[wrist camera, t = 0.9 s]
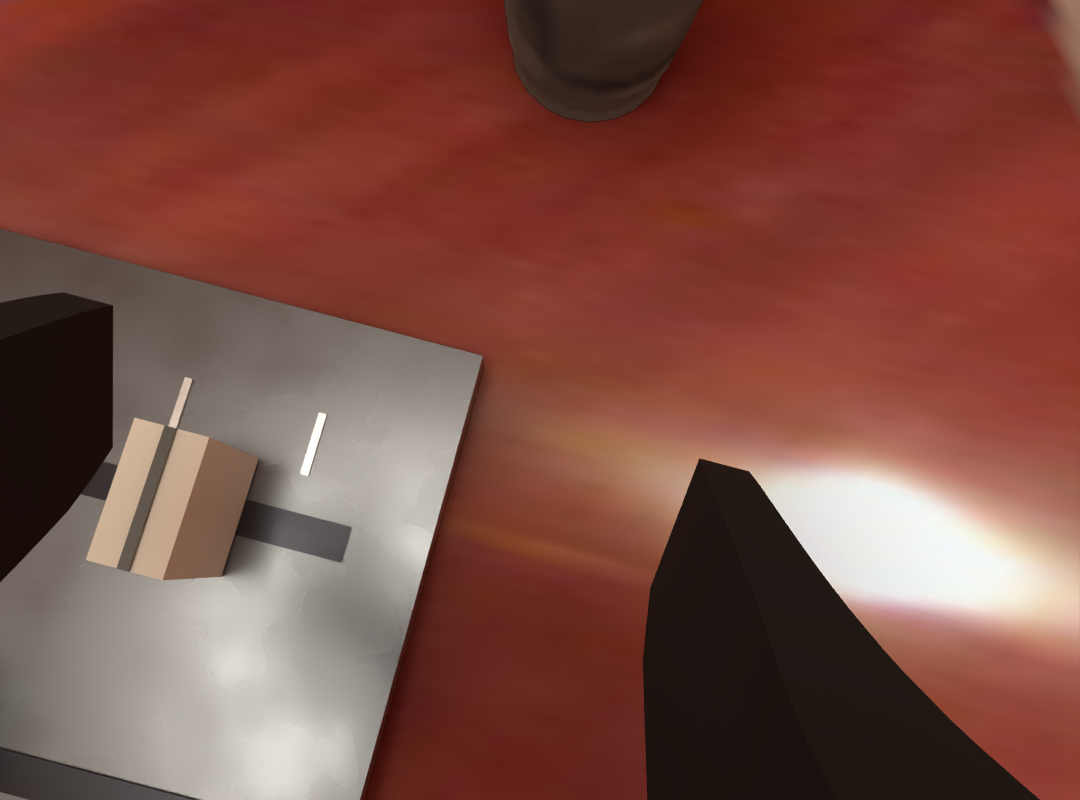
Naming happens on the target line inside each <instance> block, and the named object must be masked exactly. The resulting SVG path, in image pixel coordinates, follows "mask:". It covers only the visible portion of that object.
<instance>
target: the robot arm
mask: <svg viewBox="0 0 1080 800" xmlns="http://www.w3.org/2000/svg"><path fill="white" fill-rule="evenodd" d="M112 448H113V305H110V304H106V303H102V302H99V301H95V300H91V299H87V298H83V297H80V296H76V295H72V294H68V293H64V292H62V293H53V294H44V295H38V296H32V297H26V298H21V299H16V300H11V301H6V302H1V303H0V582H1V581H2V580H3V579H4V578H5V577H6V576H7V575H8V574H9V573H10V572H11V571H12V570H13V569H14V568H15V567H16V566H17V565H18V564H19V563H20V562H21V561H22V560H23V559H24V557H25V556H26V555H27V554H28V553H29V552H30V551H31V550H32V549H33V548H34V547H35V546H36V545H37V544H38V543H39V542H40V541H41V540H42V538H43V537H44V536H45V535H46V534H47V533H48V532H49V531H50V530H51V529H52V528H53V527H54V526H55V525H56V524H57V523H58V521H59V520H60V519H61V518H62V517H63V516H64V515H65V514H66V513H67V512H68V511H69V509H70V508H71V507H72V505H73V504H74V502H75V501H76V500H77V498H78V497H79V496H80V494H81V493H82V492H83V490H84V489H85V488H86V486H87V485H88V483H89V482H90V481H91V479H92V478H93V476H94V475H95V473H96V472H97V470H98V469H99V467H100V466H101V464H102V463H103V461H104V460H105V459H106V457H107V456H108V454H109V453H110V451H111V450H112ZM643 674H644V712H645V742H646V771H647V800H1040V799H1038V798H1037V797H1036V796H1035V795H1034V794H1032V793H1031V792H1030V791H1029V790H1028V789H1027V788H1026V787H1024V786H1023V785H1022V784H1021V783H1020V782H1019V781H1018V780H1016V779H1015V778H1014V777H1013V776H1012V775H1011V774H1010V773H1009V772H1007V771H1006V770H1005V769H1004V768H1003V767H1002V766H1001V765H999V764H998V763H997V762H996V761H995V760H994V759H993V758H991V757H990V756H989V755H988V754H987V753H986V752H985V751H983V750H982V749H981V748H980V747H979V746H978V745H977V744H976V743H975V742H974V741H972V740H971V739H970V738H969V737H968V736H967V735H966V734H965V733H964V732H963V731H962V730H961V729H960V728H959V727H958V726H956V725H955V724H954V723H953V722H952V721H951V720H950V719H949V718H948V717H947V716H946V715H945V714H944V713H943V712H942V711H941V710H940V709H939V708H938V707H937V706H936V705H935V704H934V703H933V702H932V701H931V700H930V699H929V697H928V696H927V695H926V694H925V693H924V692H923V691H922V690H921V689H920V688H919V687H918V686H917V685H916V684H915V683H914V682H913V681H912V680H911V679H910V678H909V677H908V676H907V675H906V674H905V673H904V672H903V671H902V670H901V669H900V667H899V666H898V665H897V664H896V663H895V662H894V661H893V660H892V659H891V658H890V656H889V655H888V654H887V653H886V652H885V651H884V650H883V649H882V647H881V646H880V645H879V644H878V643H877V641H876V640H875V639H874V638H873V637H872V636H871V634H870V633H869V632H868V631H867V630H866V628H865V627H864V626H863V625H862V624H861V622H860V621H859V620H858V619H857V618H856V616H855V615H854V614H853V613H852V612H851V610H850V609H849V608H848V607H847V605H846V604H845V603H844V602H843V600H842V599H841V598H840V596H839V595H838V594H837V593H836V591H835V590H834V589H833V587H832V586H831V585H830V584H829V582H828V581H827V580H826V578H825V577H824V576H823V574H822V573H821V572H820V570H819V569H818V567H817V566H816V565H815V563H814V562H813V561H812V559H811V558H810V557H809V555H808V554H807V552H806V551H805V550H804V548H803V547H802V545H801V544H800V543H799V541H798V540H797V538H796V537H795V536H794V534H793V533H792V531H791V530H790V528H789V527H788V525H787V524H786V523H785V521H784V520H783V518H782V517H781V515H780V514H779V512H778V511H777V510H776V508H775V507H774V505H773V504H772V502H771V501H770V499H769V498H768V497H767V495H766V494H765V492H764V491H763V489H762V488H761V487H760V485H759V484H758V483H757V481H756V480H755V479H754V477H753V476H752V475H751V473H750V472H749V471H745V470H741V469H737V468H734V467H730V466H726V465H722V464H718V463H715V462H711V461H707V460H703V459H699V461H698V464H697V466H696V469H695V472H694V474H693V477H692V480H691V482H690V485H689V487H688V490H687V493H686V495H685V498H684V501H683V503H682V506H681V509H680V511H679V514H678V516H677V519H676V522H675V524H674V527H673V530H672V532H671V535H670V538H669V540H668V543H667V545H666V548H665V551H664V553H663V556H662V559H661V561H660V564H659V567H658V569H657V572H656V574H655V577H654V580H653V582H652V585H651V588H650V597H649V606H648V615H647V624H646V635H645V646H644V656H643Z"/></svg>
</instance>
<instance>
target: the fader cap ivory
mask: <svg viewBox="0 0 1080 800" xmlns="http://www.w3.org/2000/svg"><path fill="white" fill-rule="evenodd" d="M258 459H259V458H257V457H254V456H252V455H250V454H247V453H245V452H243V451H240V450H238V449H236V448H233V447H231V446H229V445H226V444H224V443H222V442H219V441H217V440H215V439H212V438H210V437H206V436H203V435H199V434H195V433H191V432H187V431H184V430H180V429H177V428H173V427H169V426H166V425H161V424H157V423H153V422H149V421H146V420H142V419H138V418H134V421H133V424H132V426H131V429H130V432H129V435H128V438H127V441H126V444H125V447H124V450H123V453H122V456H121V458H120V461H119V464H118V467H117V470H116V473H115V476H114V479H113V482H112V485H111V488H110V490H109V493H108V496H107V499H106V502H105V505H104V508H103V511H102V514H101V517H100V520H99V522H98V525H97V528H96V531H95V534H94V537H93V540H92V543H91V546H90V549H89V552H88V554H87V557H86V560H87V561H91V562H95V563H99V564H103V565H106V566H110V567H114V568H116V569H119V570H123V571H127V572H133V573H137V574H140V575H144V576H148V577H152V578H156V579H159V580H176V579H194V578H211V577H221V576H222V573H223V570H224V567H225V563H226V560H227V557H228V554H229V551H230V548H231V545H232V541H233V538H234V535H235V532H236V529H237V526H238V522H239V519H240V516H241V513H242V510H243V507H244V503H245V500H246V497H247V494H248V491H249V488H250V484H251V481H252V478H253V475H254V472H255V469H256V465H257V462H258Z"/></svg>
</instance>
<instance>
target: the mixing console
mask: <svg viewBox="0 0 1080 800" xmlns="http://www.w3.org/2000/svg"><path fill="white" fill-rule="evenodd" d="M62 292H64V293H68V294H72V295H76V296H80V297H83V298H87V299H91V300H95V301H99V302H102V303H106V304H110V305H113V448H112V450H111V451H110V453H109V454H108V456H107V457H106V459H105V460H104V461H103V463H102V464H101V466H100V467H99V469H98V470H97V472H96V473H95V475H94V476H93V478H92V479H91V481H90V482H89V483H88V485H87V486H86V488H85V489H84V490H83V492H82V493H81V494H80V496H79V497H78V498H77V500H76V501H75V502H74V504H73V505H72V507H71V508H70V509H69V511H68V512H67V513H66V514H65V515H64V516H63V517H62V518H61V519H60V520H59V521H58V523H57V524H56V525H55V526H54V527H53V528H52V529H51V530H50V531H49V532H48V533H47V534H46V535H45V536H44V537H43V538H42V540H41V541H40V542H39V543H38V544H37V545H36V546H35V547H34V548H33V549H32V550H31V551H30V552H29V553H28V554H27V555H26V556H25V557H24V559H23V560H22V561H21V562H20V563H19V564H18V565H17V566H16V567H15V568H14V569H13V570H12V571H11V572H10V573H9V574H8V575H7V576H6V577H5V578H4V579H3V580H2V581H1V582H0V800H365V796H366V792H367V789H368V785H369V782H370V778H371V774H372V771H373V767H374V763H375V760H376V756H377V753H378V749H379V745H380V742H381V738H382V735H383V731H384V727H385V724H386V720H387V716H388V713H389V709H390V706H391V702H392V698H393V695H394V691H395V687H396V684H397V680H398V677H399V673H400V669H401V666H402V662H403V659H404V655H405V651H406V648H407V644H408V640H409V637H410V633H411V630H412V626H413V622H414V619H415V615H416V611H417V608H418V604H419V601H420V597H421V593H422V590H423V586H424V583H425V579H426V575H427V572H428V568H429V564H430V561H431V557H432V554H433V550H434V546H435V543H436V539H437V535H438V532H439V528H440V525H441V521H442V517H443V514H444V510H445V507H446V503H447V499H448V496H449V492H450V488H451V485H452V481H453V478H454V474H455V470H456V467H457V463H458V459H459V456H460V452H461V449H462V445H463V441H464V438H465V434H466V431H467V427H468V423H469V420H470V416H471V412H472V409H473V405H474V402H475V398H476V394H477V391H478V387H479V383H480V380H481V376H482V373H483V369H484V364H483V356H481V355H477V354H474V353H470V352H466V351H462V350H458V349H455V348H451V347H447V346H443V345H439V344H436V343H432V342H428V341H424V340H420V339H417V338H413V337H409V336H405V335H401V334H398V333H394V332H390V331H386V330H382V329H379V328H375V327H371V326H367V325H363V324H360V323H356V322H352V321H348V320H344V319H341V318H337V317H333V316H329V315H325V314H322V313H318V312H314V311H310V310H306V309H303V308H299V307H295V306H291V305H287V304H284V303H280V302H276V301H272V300H268V299H265V298H261V297H257V296H253V295H249V294H245V293H242V292H238V291H234V290H230V289H226V288H223V287H219V286H215V285H211V284H207V283H204V282H200V281H196V280H192V279H188V278H185V277H181V276H177V275H173V274H169V273H166V272H162V271H158V270H154V269H150V268H147V267H143V266H139V265H135V264H131V263H128V262H124V261H120V260H116V259H112V258H109V257H105V256H101V255H97V254H93V253H90V252H86V251H82V250H78V249H74V248H71V247H67V246H63V245H59V244H55V243H52V242H48V241H44V240H40V239H36V238H33V237H29V236H25V235H21V234H17V233H14V232H10V231H6V230H2V229H0V303H1V302H6V301H11V300H16V299H21V298H26V297H32V296H38V295H44V294H53V293H62ZM134 418H138V419H142V420H146V421H149V422H153V423H157V424H161V425H166V426H169V427H173V428H177V429H180V430H184V431H187V432H191V433H195V434H199V435H203V436H206V437H210V438H212V439H215V440H217V441H219V442H222V443H224V444H226V445H229V446H231V447H233V448H236V449H238V450H240V451H243V452H245V453H247V454H250V455H252V456H254V457H257V458H259V459H258V462H257V465H256V469H255V472H254V475H253V478H252V481H251V484H250V488H249V491H248V494H247V497H246V500H245V503H244V507H243V510H242V513H241V516H240V519H239V522H238V526H237V529H236V532H235V535H234V538H233V541H232V545H231V548H230V551H229V554H228V557H227V560H226V563H225V567H224V570H223V573H222V576H221V577H211V578H194V579H176V580H159V579H156V578H152V577H148V576H144V575H140V574H137V573H133V572H127V571H123V570H119V569H116V568H114V567H110V566H106V565H103V564H99V563H95V562H91V561H87V560H86V557H87V554H88V552H89V549H90V546H91V543H92V540H93V537H94V534H95V531H96V528H97V525H98V522H99V520H100V517H101V514H102V511H103V508H104V505H105V502H106V499H107V496H108V493H109V490H110V488H111V485H112V482H113V479H114V476H115V473H116V470H117V467H118V464H119V461H120V458H121V456H122V453H123V450H124V447H125V444H126V441H127V438H128V435H129V432H130V429H131V426H132V424H133V421H134Z"/></svg>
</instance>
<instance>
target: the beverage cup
mask: <svg viewBox="0 0 1080 800" xmlns="http://www.w3.org/2000/svg"><path fill="white" fill-rule="evenodd" d="M702 2H703V0H504V6H505V13H506V20H507V27H508V33H509V39H510V43H511V45H512V49H513V55H514V61H515V68H516V71H517V73H518V75H519V77H520V79H521V81H522V83H523V84H524V86H525V88H526V90H527V91H528V92H529V93H530V94H531V95H532V96H533V97H534V98H535V99H536V100H537V101H538V102H539V103H540V104H541V105H542V106H543V107H545V108H547V109H549V110H551V111H553V112H555V113H557V114H559V115H561V116H563V117H565V118H569V119H575V120H581V121H586V122H594V121H602V120H611V119H615V118H617V117H619V116H621V115H624V114H626V113H628V112H630V111H633V110H635V109H636V108H637V107H638V106H639V105H640V104H641V103H642V102H644V101H645V100H646V99H647V98H648V97H649V96H650V95H651V94H652V92H653V91H654V89H655V87H656V85H657V83H658V81H659V79H660V78H661V76H662V74H663V73H664V72H665V71H666V70H667V69H668V67H669V65H670V63H671V61H672V59H673V58H674V56H675V54H676V52H677V50H678V48H679V46H680V44H681V42H682V41H683V39H684V37H685V35H686V33H687V31H688V29H689V27H690V25H691V23H692V21H693V19H694V17H695V16H696V14H697V12H698V10H699V8H700V6H701V4H702Z"/></svg>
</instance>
